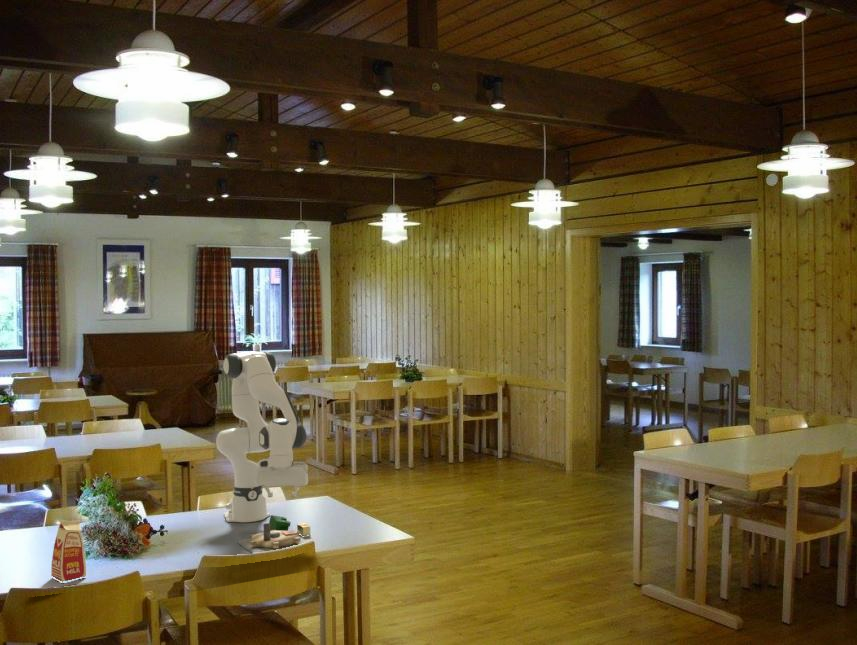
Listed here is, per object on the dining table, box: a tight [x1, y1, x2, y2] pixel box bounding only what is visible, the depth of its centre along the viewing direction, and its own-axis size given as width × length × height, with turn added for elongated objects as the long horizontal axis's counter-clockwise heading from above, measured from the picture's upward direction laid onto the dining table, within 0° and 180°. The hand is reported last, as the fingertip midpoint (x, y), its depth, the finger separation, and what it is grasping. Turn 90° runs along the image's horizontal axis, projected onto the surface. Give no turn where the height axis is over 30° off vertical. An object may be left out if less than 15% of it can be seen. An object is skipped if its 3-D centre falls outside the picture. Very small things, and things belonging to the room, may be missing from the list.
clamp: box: [268, 514, 292, 531], centre depth 341 cm, size 12×6×9 cm, turn 17°
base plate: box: [236, 536, 308, 553], centre depth 321 cm, size 22×22×1 cm
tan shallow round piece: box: [248, 522, 301, 548], centre depth 321 cm, size 20×19×8 cm
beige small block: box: [296, 522, 311, 537], centre depth 335 cm, size 6×3×4 cm, turn 30°
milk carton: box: [50, 519, 87, 582], centre depth 284 cm, size 9×9×20 cm
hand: (282, 497), depth 327 cm, fingers open, 8 cm apart
